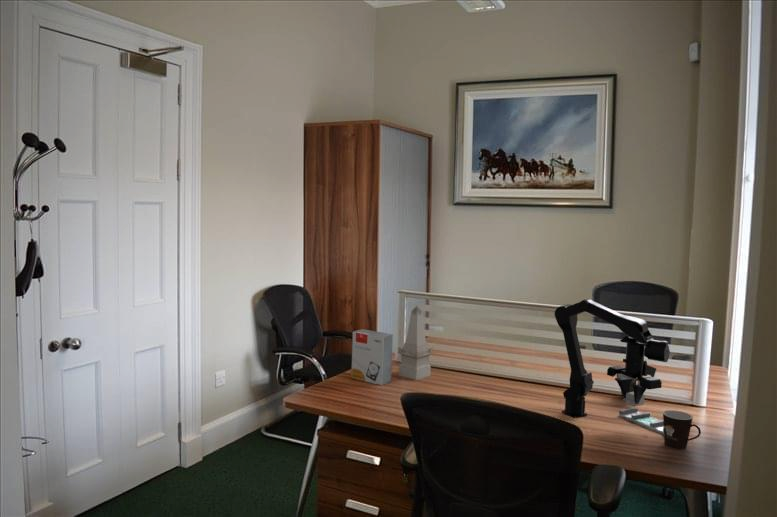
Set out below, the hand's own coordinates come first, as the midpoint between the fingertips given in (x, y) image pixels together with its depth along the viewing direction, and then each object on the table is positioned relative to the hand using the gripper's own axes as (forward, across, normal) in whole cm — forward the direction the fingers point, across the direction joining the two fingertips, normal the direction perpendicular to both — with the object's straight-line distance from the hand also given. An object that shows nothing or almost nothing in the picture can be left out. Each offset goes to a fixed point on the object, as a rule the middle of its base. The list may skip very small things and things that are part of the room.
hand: (631, 402), depth 218 cm
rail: (+9, 0, -9) cm, 13 cm away
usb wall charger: (+1, 0, 0) cm, 1 cm away
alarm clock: (+9, +24, -24) cm, 35 cm away
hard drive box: (+9, +83, +58) cm, 102 cm away
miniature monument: (+9, +82, +38) cm, 91 cm away
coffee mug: (+9, -18, -1) cm, 21 cm away
